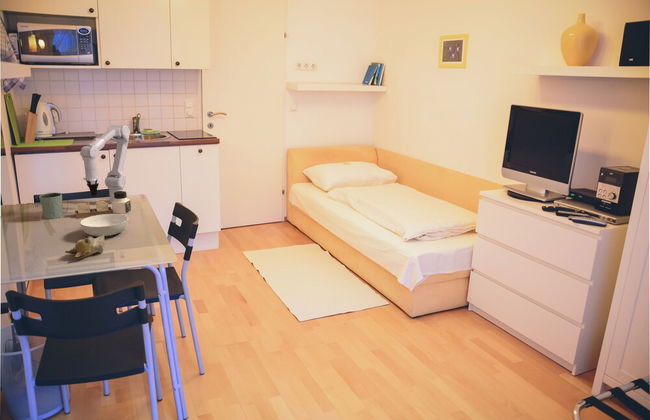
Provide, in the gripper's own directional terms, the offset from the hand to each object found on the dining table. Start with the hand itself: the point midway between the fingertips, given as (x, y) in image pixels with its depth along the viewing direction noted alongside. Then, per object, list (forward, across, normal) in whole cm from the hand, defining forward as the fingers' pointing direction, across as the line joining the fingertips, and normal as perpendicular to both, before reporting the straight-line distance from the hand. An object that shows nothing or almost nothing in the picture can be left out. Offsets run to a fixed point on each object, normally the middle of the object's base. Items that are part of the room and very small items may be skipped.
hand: (93, 194), depth 272 cm
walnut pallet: (+9, +8, -1) cm, 12 cm away
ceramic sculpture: (+10, +66, -7) cm, 67 cm away
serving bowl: (+10, +40, +2) cm, 41 cm away
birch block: (+8, +8, -6) cm, 13 cm away
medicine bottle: (+10, +9, +12) cm, 18 cm away
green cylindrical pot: (+10, +3, -20) cm, 22 cm away
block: (+8, +8, +3) cm, 12 cm away
